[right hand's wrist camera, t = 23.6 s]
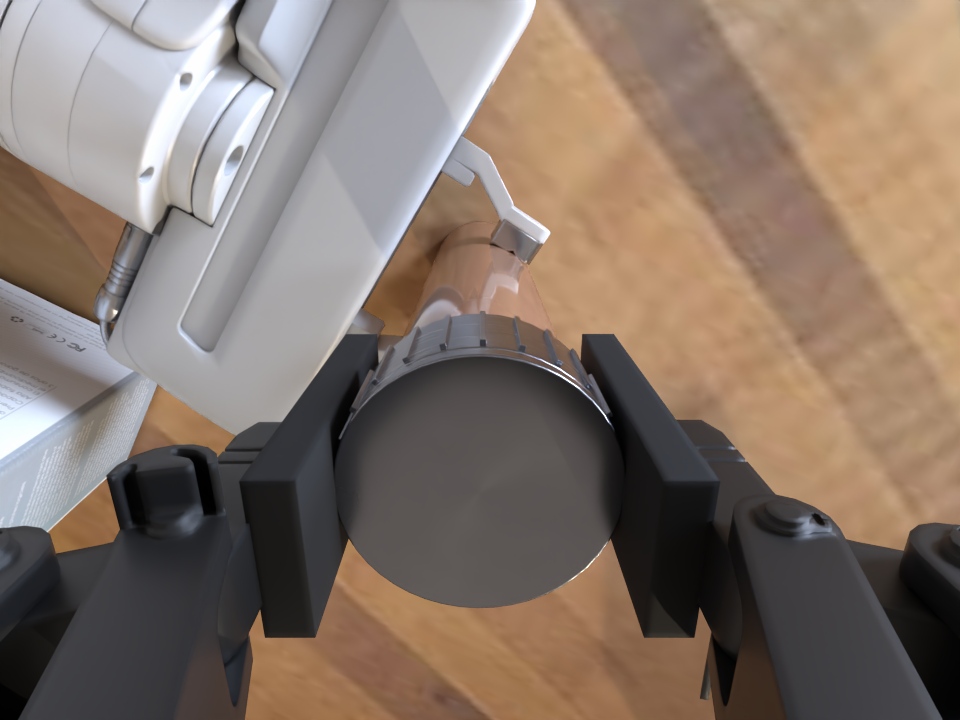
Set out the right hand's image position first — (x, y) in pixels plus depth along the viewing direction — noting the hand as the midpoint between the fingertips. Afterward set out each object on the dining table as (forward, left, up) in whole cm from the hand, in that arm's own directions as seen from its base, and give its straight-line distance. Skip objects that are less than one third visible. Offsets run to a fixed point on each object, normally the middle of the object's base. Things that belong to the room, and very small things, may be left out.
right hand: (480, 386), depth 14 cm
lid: (0, 0, +4) cm, 4 cm away
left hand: (-1, +1, -9) cm, 9 cm away
